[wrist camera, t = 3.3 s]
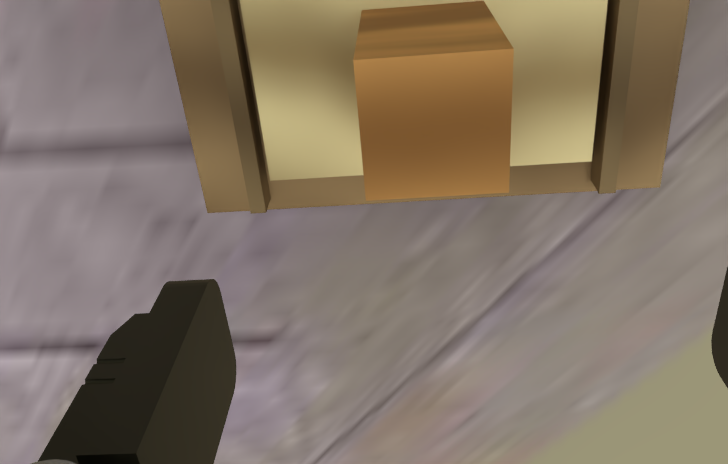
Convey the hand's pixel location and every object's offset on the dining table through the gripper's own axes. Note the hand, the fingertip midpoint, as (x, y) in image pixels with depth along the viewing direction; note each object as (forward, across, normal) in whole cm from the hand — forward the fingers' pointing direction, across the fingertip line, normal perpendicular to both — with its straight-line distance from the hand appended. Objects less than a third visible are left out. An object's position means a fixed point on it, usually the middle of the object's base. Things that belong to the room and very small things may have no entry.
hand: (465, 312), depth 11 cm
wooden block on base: (+15, 0, 0) cm, 15 cm away
